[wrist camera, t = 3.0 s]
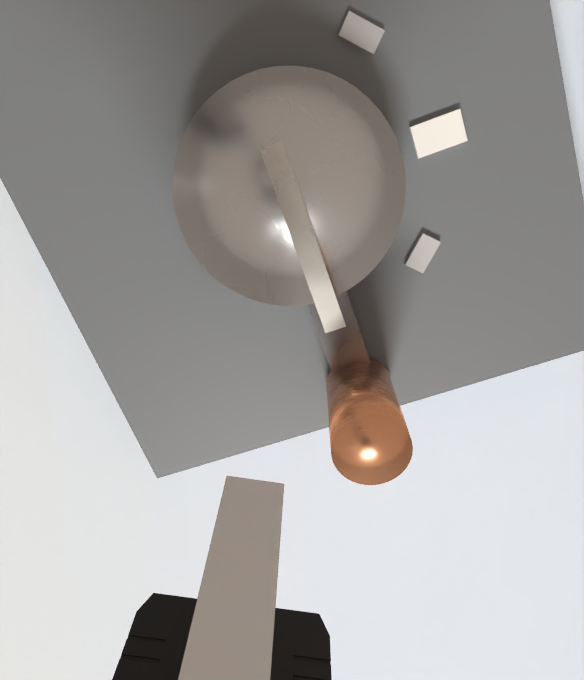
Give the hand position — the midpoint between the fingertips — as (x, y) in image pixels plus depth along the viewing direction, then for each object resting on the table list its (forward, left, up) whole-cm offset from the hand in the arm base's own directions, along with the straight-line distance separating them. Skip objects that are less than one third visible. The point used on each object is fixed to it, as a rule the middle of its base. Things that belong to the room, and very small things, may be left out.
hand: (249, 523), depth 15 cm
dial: (-4, +3, -7) cm, 9 cm away
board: (-7, +3, -9) cm, 12 cm away
